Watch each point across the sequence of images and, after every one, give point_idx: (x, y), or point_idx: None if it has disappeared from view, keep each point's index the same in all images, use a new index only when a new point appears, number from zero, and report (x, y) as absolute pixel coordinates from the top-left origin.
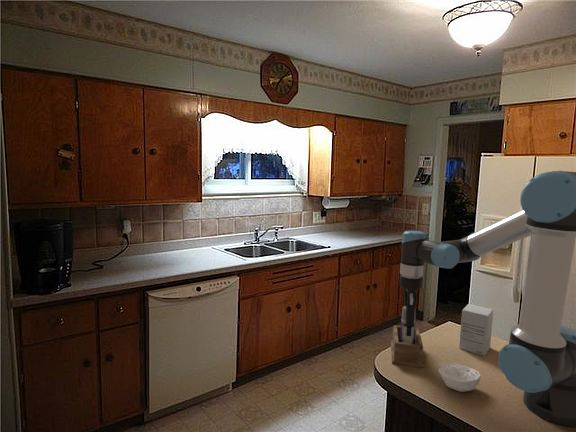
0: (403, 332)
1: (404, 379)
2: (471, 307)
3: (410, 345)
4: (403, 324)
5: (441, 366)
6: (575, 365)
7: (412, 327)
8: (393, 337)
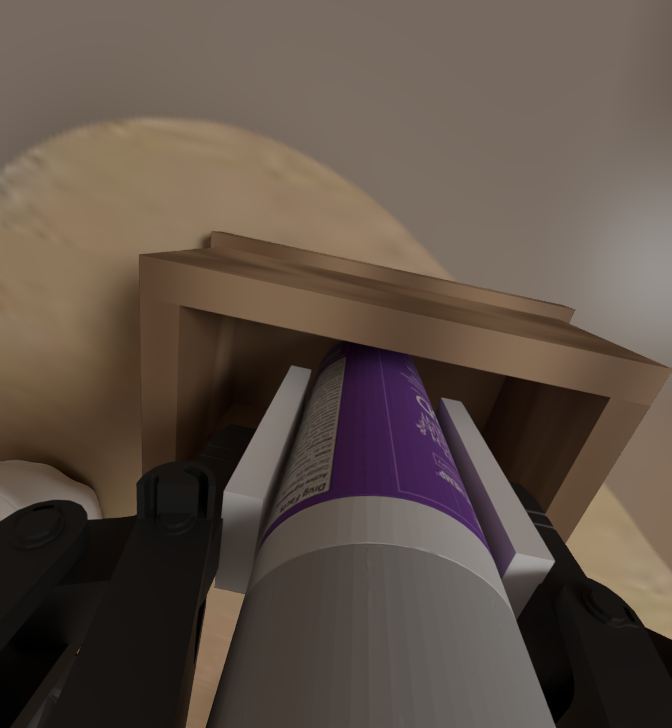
0: (319, 416)
1: (37, 265)
2: None
3: (143, 404)
4: (141, 484)
5: (18, 506)
6: None
7: (222, 567)
8: (475, 312)
